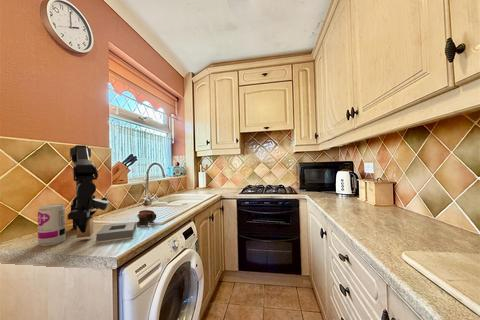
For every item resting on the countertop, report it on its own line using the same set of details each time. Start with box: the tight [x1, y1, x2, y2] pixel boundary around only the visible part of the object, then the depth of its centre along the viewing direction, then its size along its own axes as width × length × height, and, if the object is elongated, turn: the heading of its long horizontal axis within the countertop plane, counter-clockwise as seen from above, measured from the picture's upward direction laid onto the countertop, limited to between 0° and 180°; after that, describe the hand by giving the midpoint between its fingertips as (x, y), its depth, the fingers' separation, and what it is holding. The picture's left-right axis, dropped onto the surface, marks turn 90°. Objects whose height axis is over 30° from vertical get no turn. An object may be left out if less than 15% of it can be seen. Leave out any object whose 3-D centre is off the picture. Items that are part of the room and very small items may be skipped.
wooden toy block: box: [76, 216, 94, 239], centre depth 88 cm, size 4×4×7 cm
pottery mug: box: [136, 209, 157, 227], centre depth 109 cm, size 12×10×8 cm
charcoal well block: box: [95, 221, 137, 244], centre depth 92 cm, size 13×13×4 cm
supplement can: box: [37, 203, 67, 247], centre depth 85 cm, size 8×8×15 cm
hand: (85, 230), depth 88 cm, fingers closed on wooden toy block, 4 cm apart
